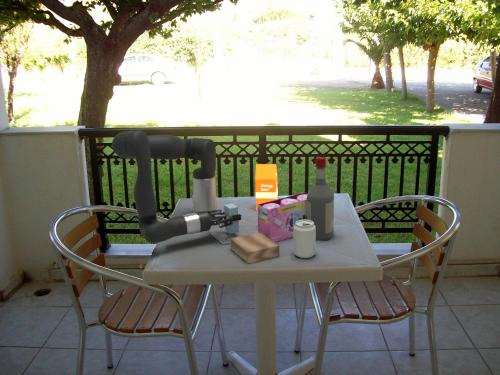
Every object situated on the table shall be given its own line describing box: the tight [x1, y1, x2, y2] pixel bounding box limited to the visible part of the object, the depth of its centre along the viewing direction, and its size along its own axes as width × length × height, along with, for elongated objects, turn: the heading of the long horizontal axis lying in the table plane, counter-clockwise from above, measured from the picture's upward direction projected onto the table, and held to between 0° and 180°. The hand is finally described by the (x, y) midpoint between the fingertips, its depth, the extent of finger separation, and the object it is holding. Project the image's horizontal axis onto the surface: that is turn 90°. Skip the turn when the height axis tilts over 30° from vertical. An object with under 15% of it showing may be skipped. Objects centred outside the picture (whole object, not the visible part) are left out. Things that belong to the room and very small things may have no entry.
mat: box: [208, 224, 254, 246], centre depth 198 cm, size 14×14×1 cm
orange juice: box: [254, 163, 279, 212], centre depth 224 cm, size 8×9×20 cm
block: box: [223, 203, 240, 234], centre depth 196 cm, size 4×5×10 cm
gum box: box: [256, 192, 308, 243], centre depth 196 cm, size 24×8×14 cm, turn 124°
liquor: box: [307, 156, 335, 242], centre depth 190 cm, size 9×9×30 cm
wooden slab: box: [230, 232, 280, 265], centre depth 181 cm, size 12×14×4 cm
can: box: [293, 220, 317, 259], centre depth 177 cm, size 8×8×12 cm
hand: (237, 214), depth 197 cm, fingers closed on block, 5 cm apart
